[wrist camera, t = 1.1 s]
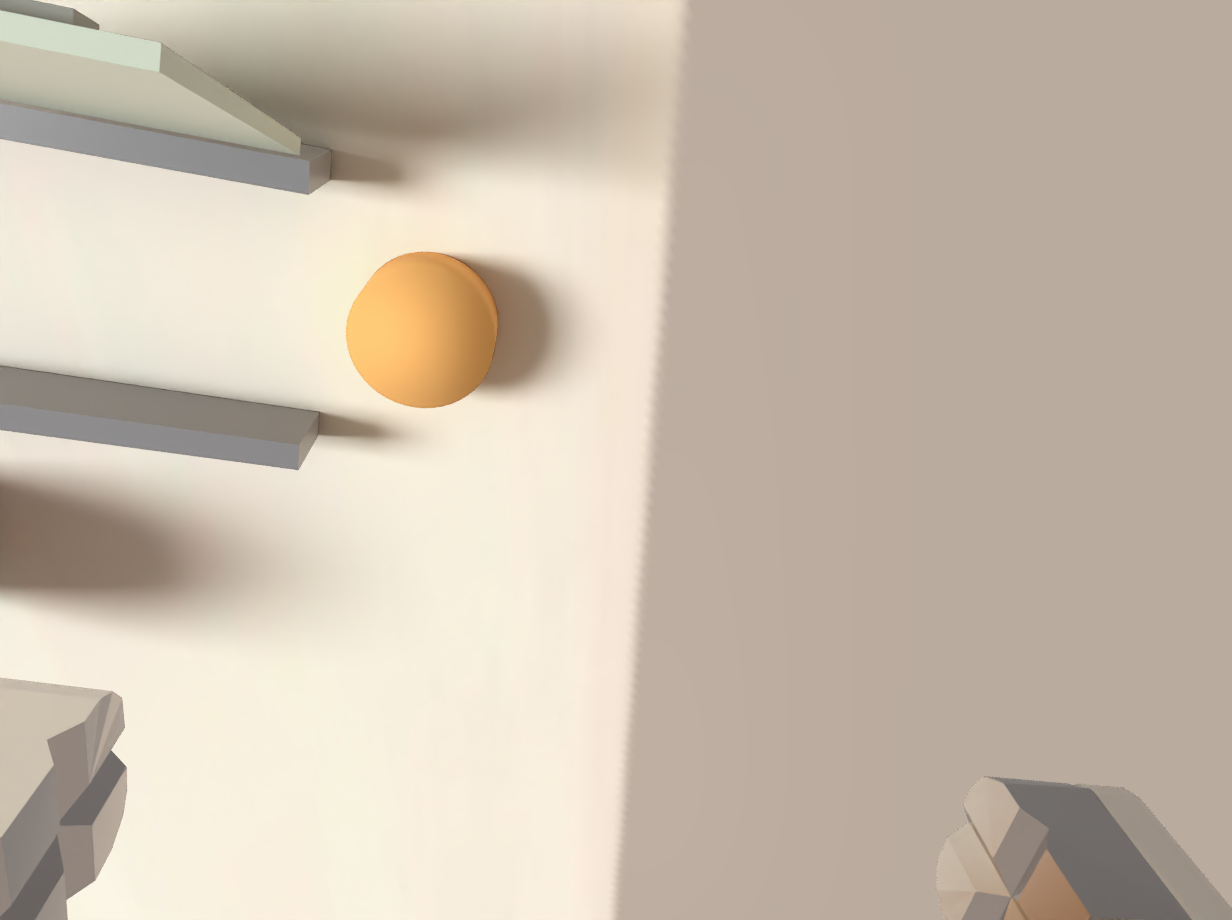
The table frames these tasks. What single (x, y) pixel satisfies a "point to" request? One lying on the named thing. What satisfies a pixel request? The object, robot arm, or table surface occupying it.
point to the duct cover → (121, 79)
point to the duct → (142, 410)
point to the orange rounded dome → (423, 330)
